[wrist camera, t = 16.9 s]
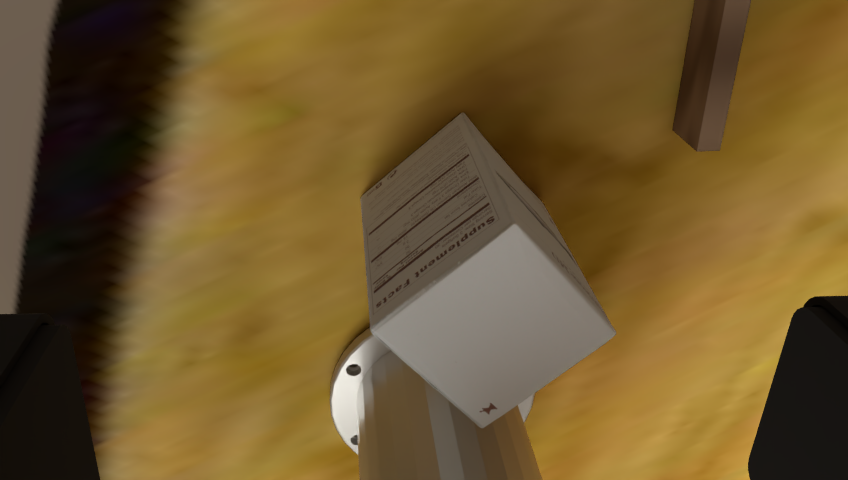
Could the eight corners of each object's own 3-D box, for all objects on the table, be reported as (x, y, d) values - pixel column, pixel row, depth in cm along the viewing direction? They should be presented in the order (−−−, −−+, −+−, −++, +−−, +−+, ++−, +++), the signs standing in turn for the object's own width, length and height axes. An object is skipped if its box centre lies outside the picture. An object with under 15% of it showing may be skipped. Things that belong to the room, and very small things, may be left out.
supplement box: (545, 201, 41) (624, 339, 30) (441, 280, 43) (480, 437, 32) (463, 104, 38) (519, 219, 27) (354, 194, 40) (364, 336, 29)
